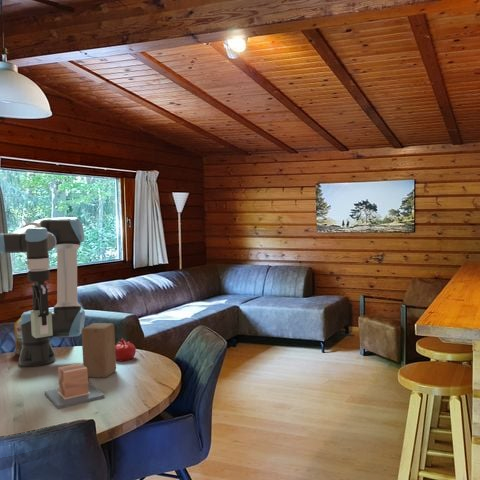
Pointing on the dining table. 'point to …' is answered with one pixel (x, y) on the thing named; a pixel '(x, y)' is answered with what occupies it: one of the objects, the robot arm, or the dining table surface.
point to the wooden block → (99, 349)
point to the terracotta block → (73, 380)
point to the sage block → (36, 324)
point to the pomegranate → (124, 351)
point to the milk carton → (18, 336)
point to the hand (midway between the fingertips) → (42, 332)
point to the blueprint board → (64, 402)
